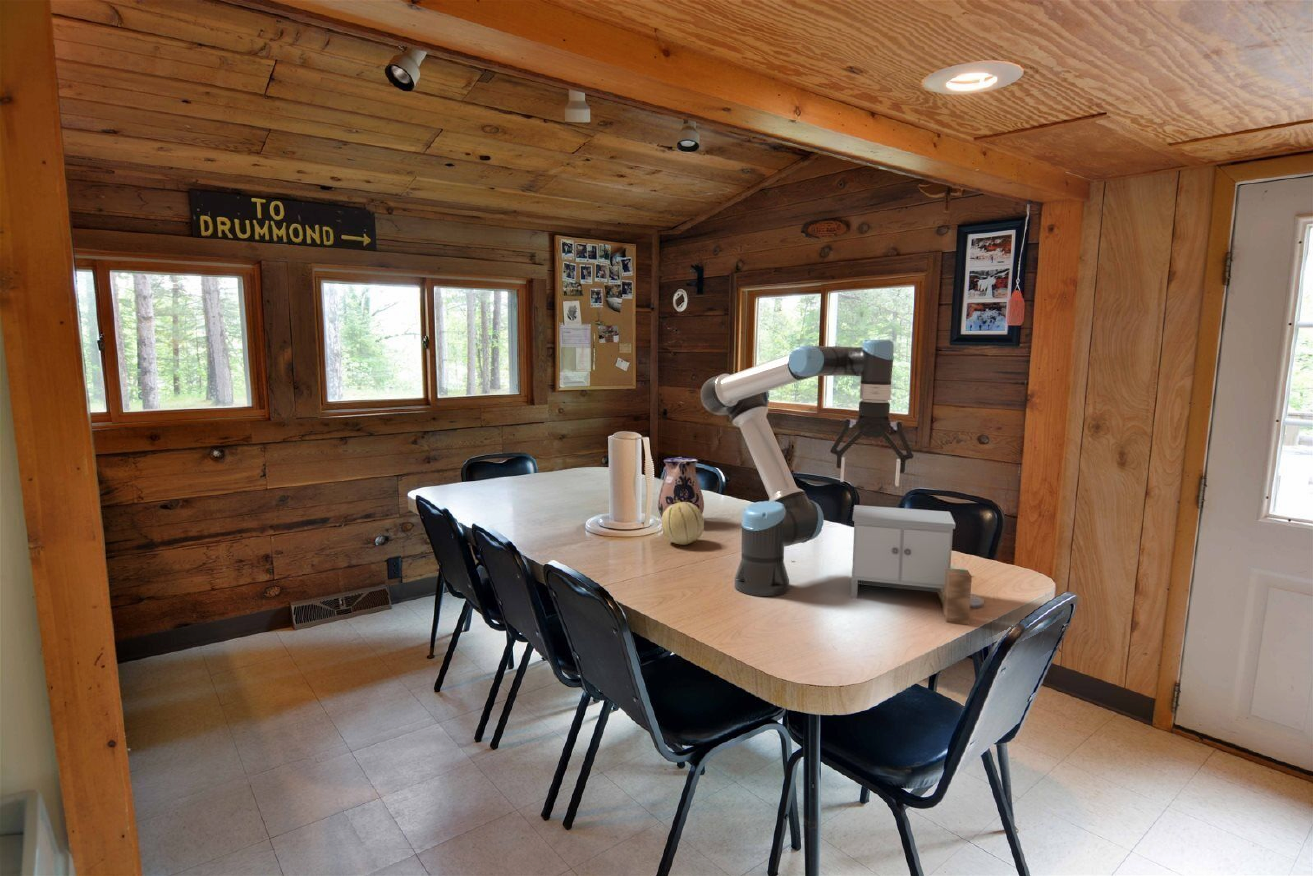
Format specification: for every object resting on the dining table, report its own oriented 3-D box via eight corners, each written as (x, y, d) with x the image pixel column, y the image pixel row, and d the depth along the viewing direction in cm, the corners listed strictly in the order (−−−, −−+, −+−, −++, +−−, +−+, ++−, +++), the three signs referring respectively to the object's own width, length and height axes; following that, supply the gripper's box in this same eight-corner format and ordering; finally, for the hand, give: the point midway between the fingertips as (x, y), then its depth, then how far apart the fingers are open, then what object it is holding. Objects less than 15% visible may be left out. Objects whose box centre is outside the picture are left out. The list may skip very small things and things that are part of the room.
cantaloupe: (701, 550, 226) (702, 506, 224) (658, 548, 228) (658, 504, 227) (705, 539, 241) (706, 497, 239) (664, 537, 243) (664, 495, 241)
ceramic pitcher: (663, 531, 252) (663, 463, 249) (652, 517, 272) (652, 455, 269) (709, 529, 255) (710, 462, 252) (694, 516, 276) (695, 454, 273)
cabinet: (848, 599, 182) (852, 517, 179) (851, 580, 197) (854, 504, 194) (950, 610, 174) (956, 525, 171) (944, 590, 189) (949, 511, 187)
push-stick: (946, 622, 166) (949, 574, 165) (934, 594, 186) (936, 551, 185) (968, 624, 165) (971, 576, 164) (953, 596, 185) (956, 552, 183)
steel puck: (955, 607, 177) (955, 600, 177) (952, 598, 184) (952, 591, 183) (985, 611, 175) (985, 603, 175) (981, 601, 181) (981, 594, 181)
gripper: (823, 399, 174) (818, 481, 176) (928, 404, 166) (921, 489, 169) (825, 397, 181) (820, 476, 184) (926, 402, 173) (919, 484, 176)
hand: (869, 483), depth 176 cm, fingers open, 13 cm apart
